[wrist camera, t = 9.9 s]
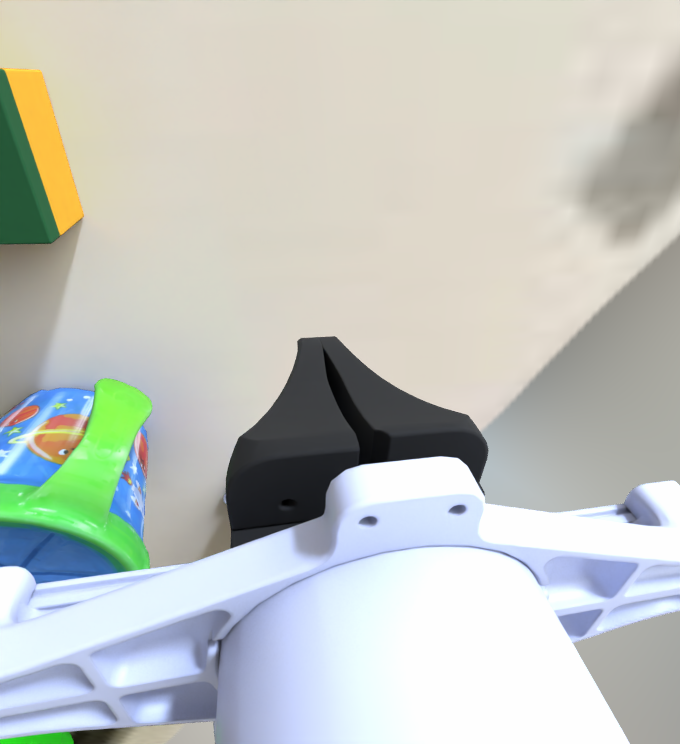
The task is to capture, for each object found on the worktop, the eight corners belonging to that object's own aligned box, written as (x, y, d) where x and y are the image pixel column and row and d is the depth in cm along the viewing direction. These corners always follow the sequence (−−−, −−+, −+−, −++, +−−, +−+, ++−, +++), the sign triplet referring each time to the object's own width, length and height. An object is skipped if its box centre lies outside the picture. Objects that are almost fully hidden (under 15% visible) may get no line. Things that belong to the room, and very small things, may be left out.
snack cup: (93, 526, 31) (37, 688, 23) (-74, 465, 26) (-228, 649, 17) (234, 398, 27) (228, 541, 18) (70, 291, 21) (-43, 426, 13)
